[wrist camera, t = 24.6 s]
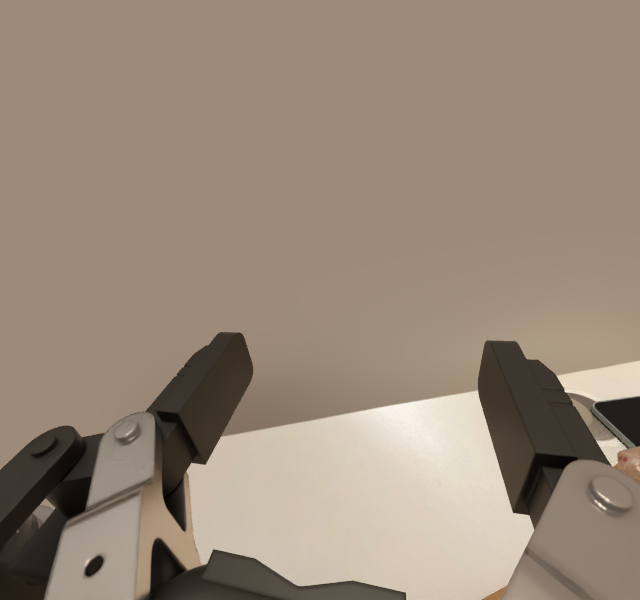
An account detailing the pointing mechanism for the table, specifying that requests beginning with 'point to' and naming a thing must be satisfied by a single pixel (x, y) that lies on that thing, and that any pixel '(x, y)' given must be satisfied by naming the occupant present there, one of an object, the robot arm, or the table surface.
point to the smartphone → (621, 418)
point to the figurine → (630, 462)
